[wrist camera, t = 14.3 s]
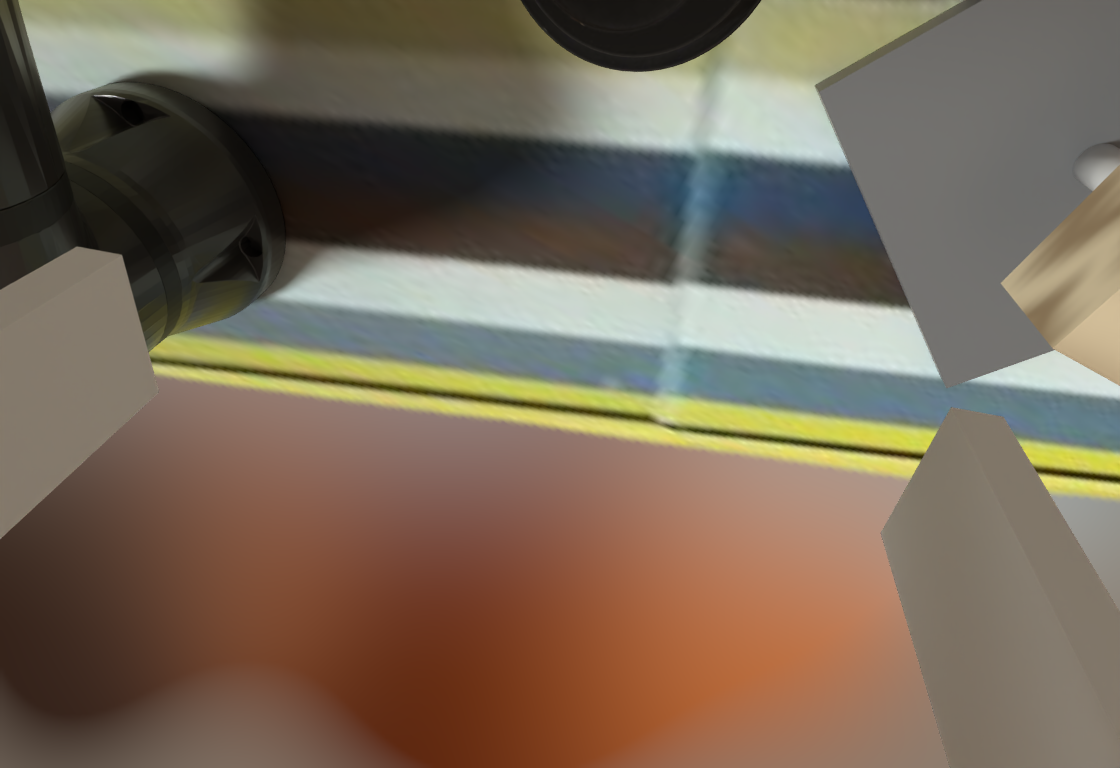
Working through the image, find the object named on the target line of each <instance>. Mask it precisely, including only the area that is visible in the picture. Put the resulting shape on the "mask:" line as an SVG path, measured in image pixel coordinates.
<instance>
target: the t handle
mask: <svg viewBox="0 0 1120 768" xmlns="http://www.w3.org/2000/svg"><path fill="white" fill-rule="evenodd" d="M1001 284H1002V286H1003V287H1004V288H1005V289H1006V291H1007V292H1008V293H1009V294H1010V296H1011V297H1012V298H1013V299H1014V301H1015V302H1016V303H1017V304H1018V306H1019V307H1020V308H1021V309H1022V311H1023V312H1024V313H1025V314H1026V316H1027V317H1028V318H1029V319H1030V321H1031V322H1032V323H1033V324H1034V326H1035V327H1036V328H1037V330H1038V331H1039V332H1040V333H1041V335H1042V336H1043V337H1044V338H1045V340H1046V341H1047V342H1048V343H1049V345H1050V346H1051V347H1052V348H1053V349H1055V350H1056V351H1058V352H1060V353H1062V354H1064V355H1065V356H1067V357H1069V358H1071V359H1073V360H1074V361H1076V362H1078V363H1080V364H1082V365H1083V366H1085V367H1087V368H1089V369H1091V370H1092V371H1094V372H1096V373H1098V374H1100V375H1101V376H1103V377H1105V378H1107V379H1109V380H1110V381H1112V382H1114V383H1116V384H1118V385H1119V386H1120V165H1119V166H1118V167H1117V168H1116V169H1115V170H1114V171H1113V172H1112V173H1111V174H1110V175H1109V176H1108V177H1107V178H1106V179H1105V180H1104V181H1103V182H1102V183H1101V184H1100V185H1099V186H1098V187H1097V188H1096V189H1095V190H1094V191H1093V192H1092V193H1091V194H1090V195H1089V196H1088V197H1087V198H1086V199H1085V200H1084V201H1083V202H1082V203H1081V204H1080V205H1079V206H1078V207H1077V208H1076V209H1075V210H1074V211H1073V212H1072V213H1071V214H1070V215H1069V216H1068V217H1067V218H1066V219H1065V220H1064V221H1063V222H1062V223H1061V224H1060V225H1059V226H1058V227H1057V228H1056V229H1055V230H1054V231H1053V232H1052V233H1051V234H1050V235H1049V236H1048V237H1047V238H1045V239H1044V240H1043V241H1042V242H1041V243H1040V244H1039V245H1038V246H1037V247H1036V248H1035V249H1034V250H1033V251H1032V252H1031V253H1030V254H1029V255H1028V256H1027V257H1026V258H1025V259H1024V260H1023V261H1022V262H1021V263H1020V264H1019V265H1018V266H1017V267H1016V268H1015V269H1014V270H1013V271H1012V272H1011V273H1010V274H1009V275H1008V276H1007V277H1006V278H1005V279H1004V280H1003V281H1002V282H1001Z"/></svg>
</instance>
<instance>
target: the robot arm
mask: <svg viewBox="0 0 1120 768" xmlns="http://www.w3.org/2000/svg"><path fill="white" fill-rule="evenodd" d="M284 251H285V226H284V219H283V214H282V210H281V206H280V203H279V200H278V197H277V194H276V192H275V189H274V187H273V185H272V183H271V181H270V179H269V177H268V175H267V173H266V171H265V170H264V168H263V167H262V165H261V163H260V162H259V160H258V159H257V158H256V156H255V155H254V153H253V152H252V151H251V150H250V148H249V147H248V146H247V145H246V143H245V142H244V141H243V140H242V139H241V138H240V137H239V136H238V135H237V134H236V133H235V132H234V131H233V130H232V129H231V128H230V127H229V126H228V125H227V124H226V123H225V122H224V121H222V120H221V119H220V118H219V117H217V116H216V115H215V114H213V113H212V112H211V111H209V110H208V109H206V108H205V107H203V106H202V105H200V104H199V103H197V102H195V101H193V100H192V99H190V98H188V97H186V96H184V95H182V94H179V93H177V92H174V91H172V90H169V89H166V88H163V87H160V86H156V85H151V84H146V83H137V82H122V83H114V84H109V85H106V86H102V87H99V88H96V89H93V90H90V91H87V92H84V93H81V94H78V95H76V96H74V97H72V98H70V99H68V100H66V101H65V102H63V103H62V104H60V105H59V106H58V107H56V108H55V109H54V110H53V111H52V112H51V113H50V110H49V107H48V103H47V100H46V97H45V93H44V90H43V86H42V83H41V80H40V76H39V73H38V69H37V66H36V63H35V59H34V56H33V52H32V49H31V46H30V42H29V39H28V35H27V32H26V28H25V24H24V21H23V17H22V13H21V10H20V6H19V2H18V0H0V539H1V538H2V537H3V536H4V535H5V534H6V533H7V532H8V531H9V530H10V529H11V528H12V527H14V526H15V525H16V524H17V523H18V522H19V521H20V520H21V519H22V518H23V517H24V516H25V515H26V514H28V513H29V512H30V511H31V510H32V509H33V508H34V507H35V506H36V505H37V504H38V503H39V502H40V501H42V500H43V499H44V498H45V497H46V496H47V495H48V494H49V493H50V492H51V491H53V490H54V489H55V487H57V486H58V485H59V484H60V483H61V482H62V481H63V480H64V479H65V478H67V476H69V475H70V474H71V473H72V472H73V471H74V470H75V469H76V468H77V467H78V466H80V465H81V464H82V463H83V462H84V461H85V460H86V459H87V458H88V457H89V456H90V455H91V454H93V453H94V452H95V451H96V450H97V449H98V448H99V447H100V446H101V445H102V444H103V443H104V442H106V441H107V440H108V439H109V438H110V437H111V436H112V435H113V434H114V433H115V432H116V431H117V430H118V429H120V428H121V427H122V426H123V425H124V424H125V423H126V422H127V421H128V420H129V419H130V418H131V417H133V416H134V415H135V414H136V413H137V412H138V411H139V410H140V409H141V408H142V407H143V406H144V405H146V404H147V403H148V402H149V401H150V400H151V399H152V398H153V397H154V396H155V395H156V394H157V393H159V390H158V386H157V382H156V379H155V375H154V371H153V368H152V364H151V360H150V357H149V353H148V352H149V351H151V350H152V349H153V348H154V347H155V346H156V345H158V344H159V343H160V342H161V341H162V340H164V339H165V338H166V337H167V336H170V335H174V334H177V333H180V332H184V331H187V330H190V329H193V328H197V327H200V326H203V325H207V324H210V323H213V322H217V321H220V320H223V319H226V318H229V317H231V316H233V315H235V314H237V313H238V312H240V311H242V310H243V309H245V308H246V307H247V306H249V305H250V304H251V303H252V302H253V301H254V300H255V299H256V298H258V297H259V296H260V295H261V294H262V293H263V292H264V291H265V290H266V289H267V288H268V287H269V286H270V285H271V283H272V282H273V281H274V279H275V277H276V276H277V274H278V272H279V269H280V267H281V264H282V261H283V256H284ZM881 536H882V540H883V543H884V546H885V550H886V553H887V556H888V560H889V563H890V567H891V570H892V573H893V577H894V580H895V583H896V587H897V590H898V593H899V597H900V601H901V604H902V607H903V611H904V614H905V618H906V621H907V624H908V628H909V631H910V635H911V638H912V641H913V645H914V648H915V652H916V655H917V658H918V661H919V665H920V668H921V672H922V675H923V679H924V682H925V685H926V689H927V692H928V696H929V699H930V702H931V706H932V709H933V713H934V716H935V719H936V723H937V726H938V729H939V733H940V736H941V739H942V743H943V746H944V750H945V753H946V756H947V760H948V763H949V767H950V768H1120V611H1119V610H1118V608H1117V606H1116V605H1115V603H1114V601H1113V599H1112V598H1111V596H1110V594H1109V593H1108V591H1107V589H1106V588H1105V586H1104V584H1103V583H1102V581H1101V579H1100V578H1099V576H1098V574H1097V573H1096V571H1095V569H1094V568H1093V566H1092V564H1091V563H1090V561H1089V559H1088V558H1087V556H1086V554H1085V553H1084V551H1083V549H1082V548H1081V546H1080V544H1079V543H1078V541H1077V540H1076V538H1075V536H1074V534H1073V533H1072V531H1071V529H1070V528H1069V526H1068V524H1067V523H1066V521H1065V519H1064V518H1063V516H1062V514H1061V512H1060V511H1059V509H1058V508H1057V506H1056V504H1055V502H1054V501H1053V499H1052V497H1051V496H1050V494H1049V492H1048V491H1047V489H1046V487H1045V486H1044V484H1043V482H1042V481H1041V479H1040V477H1039V476H1038V474H1037V472H1036V471H1035V469H1034V467H1033V466H1032V464H1031V462H1030V461H1029V459H1028V457H1027V456H1026V454H1025V452H1024V451H1023V449H1022V447H1021V446H1020V444H1019V442H1018V441H1017V439H1016V437H1015V436H1014V434H1013V432H1012V430H1011V429H1010V427H1009V425H1008V424H1007V422H1006V420H1005V419H1004V417H1001V416H996V415H990V414H985V413H979V412H974V411H968V410H963V409H958V408H952V407H951V409H950V410H949V412H948V414H947V416H946V417H945V419H944V421H943V423H942V425H941V426H940V428H939V430H938V432H937V434H936V435H935V437H934V439H933V441H932V442H931V444H930V446H929V448H928V450H927V451H926V453H925V455H924V457H923V458H922V460H921V462H920V464H919V466H918V467H917V469H916V471H915V473H914V474H913V476H912V478H911V480H910V482H909V483H908V485H907V487H906V489H905V490H904V492H903V494H902V496H901V498H900V499H899V501H898V503H897V505H896V507H895V508H894V510H893V512H892V514H891V515H890V517H889V519H888V521H887V523H886V524H885V526H884V528H883V530H882V531H881Z"/></svg>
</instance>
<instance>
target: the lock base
mask: <svg viewBox="0 0 1120 768" xmlns="http://www.w3.org/2000/svg"><path fill="white" fill-rule="evenodd" d="M815 88H816V90H817V92H818V95H819V97H820V99H821V101H822V104H823V106H824V108H825V111H826V113H827V115H828V118H829V120H830V122H831V125H832V127H833V129H834V132H835V134H836V136H837V139H838V141H839V143H840V145H841V148H842V150H843V152H844V155H845V157H846V159H847V162H848V164H849V166H850V169H851V171H852V173H853V176H854V178H855V180H856V182H857V185H858V187H859V189H860V192H861V194H862V196H863V199H864V201H865V203H866V206H867V208H868V210H869V213H870V215H871V217H872V219H873V222H874V224H875V226H876V229H877V231H878V233H879V236H880V238H881V240H882V243H883V245H884V247H885V250H886V252H887V254H888V256H889V259H890V261H891V263H892V266H893V268H894V270H895V273H896V275H897V277H898V280H899V282H900V284H901V287H902V289H903V291H904V293H905V296H906V298H907V300H908V303H909V305H910V307H911V310H912V312H913V314H914V317H915V319H916V321H917V324H918V326H919V328H920V331H921V333H922V335H923V337H924V340H925V342H926V344H927V347H928V349H929V351H930V354H931V356H932V358H933V361H934V363H935V365H936V368H937V370H938V372H939V374H940V376H941V378H942V380H943V382H944V384H945V386H946V388H948V387H951V386H954V385H957V384H960V383H963V382H965V381H968V380H971V379H974V378H977V377H980V376H982V375H985V374H988V373H991V372H994V371H997V370H999V369H1002V368H1005V367H1008V366H1011V365H1014V364H1016V363H1019V362H1022V361H1025V360H1028V359H1031V358H1033V357H1036V356H1039V355H1042V354H1045V353H1047V352H1050V351H1053V350H1055V349H1053V348H1052V347H1051V346H1050V345H1049V343H1048V342H1047V341H1046V340H1045V338H1044V337H1043V336H1042V335H1041V333H1040V332H1039V331H1038V330H1037V328H1036V327H1035V326H1034V324H1033V323H1032V322H1031V321H1030V319H1029V318H1028V317H1027V316H1026V314H1025V313H1024V312H1023V311H1022V309H1021V308H1020V307H1019V306H1018V304H1017V303H1016V302H1015V301H1014V299H1013V298H1012V297H1011V296H1010V294H1009V293H1008V292H1007V291H1006V289H1005V288H1004V287H1003V286H1002V284H1001V282H1002V281H1003V280H1004V279H1005V278H1006V277H1007V276H1008V275H1009V274H1010V273H1011V272H1012V271H1013V270H1014V269H1015V268H1016V267H1017V266H1018V265H1019V264H1020V263H1021V262H1022V261H1023V260H1024V259H1025V258H1026V257H1027V256H1028V255H1029V254H1030V253H1031V252H1032V251H1033V250H1034V249H1035V248H1036V247H1037V246H1038V245H1039V244H1040V243H1041V242H1042V241H1043V240H1044V239H1045V238H1047V237H1048V236H1049V235H1050V234H1051V233H1052V232H1053V231H1054V230H1055V229H1056V228H1057V227H1058V226H1059V225H1060V224H1061V223H1062V222H1063V221H1064V220H1065V219H1066V218H1067V217H1068V216H1069V215H1070V214H1071V213H1072V212H1073V211H1074V210H1075V209H1076V208H1077V207H1078V206H1079V205H1080V204H1081V203H1082V202H1083V201H1084V200H1085V199H1086V198H1087V197H1088V196H1089V195H1090V194H1091V193H1092V192H1093V191H1094V190H1095V189H1096V188H1097V187H1098V186H1099V185H1100V184H1101V183H1102V182H1103V181H1104V180H1105V179H1106V178H1107V177H1108V176H1109V175H1110V174H1111V173H1112V172H1113V171H1114V170H1115V169H1116V168H1117V167H1118V166H1119V165H1120V0H965V1H963V2H961V3H959V4H958V5H956V6H954V7H952V8H950V9H949V10H947V11H945V12H943V13H942V14H940V15H938V16H936V17H935V18H933V19H931V20H929V21H928V22H926V23H924V24H922V25H920V26H919V27H917V28H915V29H913V30H912V31H910V32H908V33H906V34H905V35H903V36H901V37H899V38H898V39H896V40H894V41H892V42H890V43H889V44H887V45H885V46H883V47H882V48H880V49H878V50H876V51H875V52H873V53H871V54H869V55H868V56H866V57H864V58H862V59H861V60H859V61H857V62H855V63H853V64H852V65H850V66H848V67H846V68H845V69H843V70H841V71H839V72H838V73H836V74H834V75H832V76H831V77H829V78H827V79H825V80H823V81H822V82H820V83H818V84H816V85H815Z"/></svg>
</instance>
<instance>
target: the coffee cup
mask: <svg viewBox="0 0 1120 768" xmlns="http://www.w3.org/2000/svg"><path fill="white" fill-rule="evenodd" d="M521 1H522V3H523V5H524V6H525V8H526V9H527V11H528V12H529V14H530V15H531V16H532V18H533V19H534V20H535V21H536V23H537V24H538V25H539V26H540V27H541V28H542V29H543V30H544V32H545V33H546V34H547V35H548V36H550V37H551V38H552V39H553V40H554V41H555V42H556V43H558V44H559V45H560V46H562V47H563V48H564V49H566V50H567V51H569V52H570V53H572V54H574V55H575V56H577V57H579V58H581V59H583V60H585V61H587V62H590V63H593V64H595V65H598V66H601V67H605V68H609V69H614V70H620V71H632V72H643V71H654V70H661V69H665V68H670V67H674V66H677V65H680V64H683V63H685V62H688V61H690V60H692V59H695V58H697V57H699V56H700V55H702V54H704V53H706V52H708V51H709V50H711V49H712V48H714V47H715V46H717V45H718V44H720V43H721V42H722V41H723V40H725V39H726V38H727V37H729V36H730V35H731V34H732V33H733V32H734V31H735V30H736V29H737V28H738V27H740V25H741V24H742V23H743V22H744V21H745V20H746V19H747V18H748V17H749V16H750V14H751V13H752V12H753V11H754V9H755V8H756V7H757V6H758V4H759V3H760V1H761V0H521Z"/></svg>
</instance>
